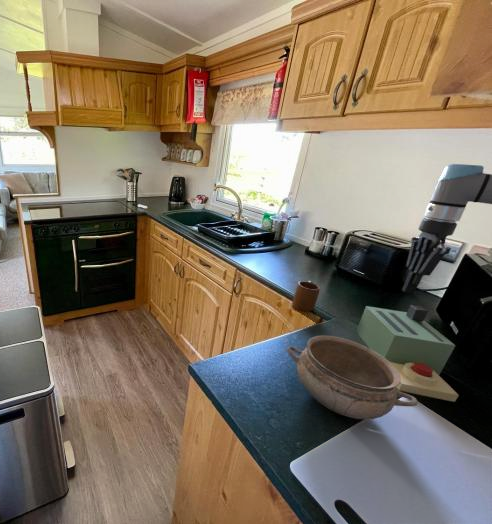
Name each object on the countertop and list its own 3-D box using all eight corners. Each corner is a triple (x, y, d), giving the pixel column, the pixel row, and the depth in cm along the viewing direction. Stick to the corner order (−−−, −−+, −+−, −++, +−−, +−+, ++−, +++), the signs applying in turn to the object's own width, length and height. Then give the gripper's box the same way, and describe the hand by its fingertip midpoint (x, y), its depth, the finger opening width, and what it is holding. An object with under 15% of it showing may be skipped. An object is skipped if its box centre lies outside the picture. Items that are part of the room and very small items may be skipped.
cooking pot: (267, 395, 69) (280, 353, 64) (288, 357, 83) (299, 320, 78) (403, 466, 54) (430, 418, 50) (400, 405, 68) (421, 364, 64)
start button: (424, 369, 76) (427, 364, 75) (433, 378, 73) (436, 373, 72) (408, 366, 77) (411, 361, 76) (417, 375, 73) (419, 370, 73)
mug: (295, 296, 120) (300, 276, 117) (315, 302, 117) (322, 281, 113) (290, 307, 111) (296, 285, 108) (312, 314, 107) (319, 291, 104)
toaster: (403, 339, 95) (415, 313, 92) (439, 375, 80) (455, 345, 76) (355, 331, 98) (366, 305, 94) (381, 364, 83) (395, 334, 79)
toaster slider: (417, 316, 89) (421, 306, 88) (423, 321, 87) (428, 311, 85) (405, 314, 90) (410, 304, 89) (411, 319, 87) (416, 309, 86)
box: (430, 376, 79) (436, 364, 78) (454, 402, 71) (462, 389, 69) (380, 367, 81) (385, 355, 80) (398, 390, 73) (405, 378, 72)
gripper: (411, 214, 91) (384, 281, 99) (440, 222, 79) (406, 298, 88) (439, 217, 89) (409, 285, 98) (473, 226, 78) (435, 303, 86)
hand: (407, 291), depth 93 cm, fingers closed
